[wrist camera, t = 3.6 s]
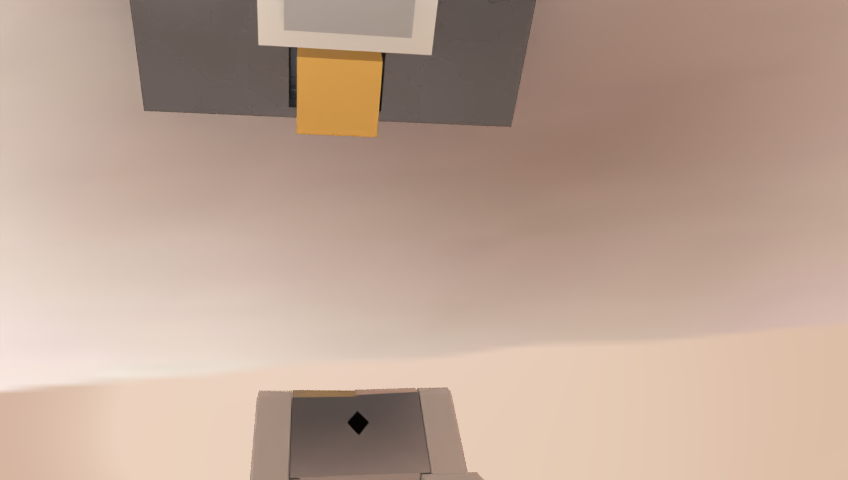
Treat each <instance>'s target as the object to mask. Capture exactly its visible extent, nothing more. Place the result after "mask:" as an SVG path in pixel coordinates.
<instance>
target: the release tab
mask: <svg viewBox="0 0 848 480" xmlns="http://www.w3.org/2000/svg"><path fill="white" fill-rule="evenodd" d="M382 65H383V60H382V55H381V52H368V51H351V50H334V49H317V48H300V47H298V49H297V134H312V135H337V136H362V137H377V130H378V117H379V104H380V91H381V78H382Z"/></svg>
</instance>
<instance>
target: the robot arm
mask: <svg viewBox="0 0 848 480" xmlns="http://www.w3.org/2000/svg"><path fill="white" fill-rule="evenodd" d="M250 480H484V479H483V478H482V477H481V476H480V475H479V474H478V473H475V472H472V473H470V472H467V467H466V462H465V458H464V453H463V448H462V443H461V438H460V434H459V429H458V424H457V419H456V414H455V410H454V405H453V400H452V395H451V392H450V390H449V389H448V388H417V389H415V388H400V389H371V390H369V389H367V390H355V391H313V390H312V391H310V390H307V391H306V390H305V391H304V390H293V392H292V391H259V393H258V397H257V403H256V414H255V425H254V438H253V450H252V462H251V474H250Z"/></svg>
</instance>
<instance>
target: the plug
mask: <svg viewBox="0 0 848 480" xmlns="http://www.w3.org/2000/svg"><path fill="white" fill-rule="evenodd" d="M437 5H438V0H257V13H258V45H267V46H284V47H300V48H317V49H334V50H351V51H368V52H385V53H402V54H419V55H432V47H433V39H434V30H435V22H436V13H437Z"/></svg>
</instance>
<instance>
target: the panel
mask: <svg viewBox="0 0 848 480" xmlns="http://www.w3.org/2000/svg"><path fill="white" fill-rule="evenodd" d="M535 2H536V0H438V5H437V13H436V22H435V30H434V39H433V47H432V55H419V54H402V53H385V52H381V55H382V60H383V65H382V78H381V91H380V104H379V117H378V121H391V122H413V123H436V124H459V125H482V126H505V127H511V124H512V119H513V114H514V109H515V104H516V99H517V94H518V89H519V84H520V79H521V73H522V68H523V63H524V58H525V53H526V48H527V43H528V38H529V33H530V28H531V23H532V18H533V13H534V7H535ZM130 5H131V13H132V20H133V28H134V36H135V43H136V51H137V59H138V66H139V74H140V82H141V90H142V97H143V105H144V111H161V112H184V113H207V114H230V115H253V116H276V117H297V49H298V47H284V46H267V45H258V13H257V0H130Z"/></svg>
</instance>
